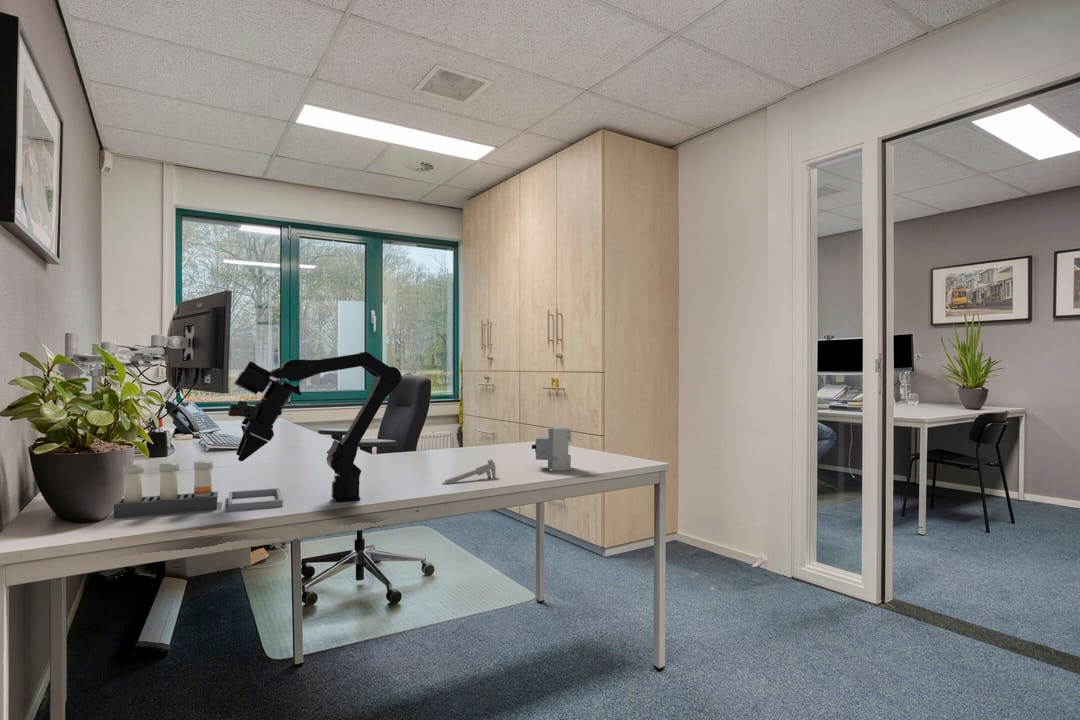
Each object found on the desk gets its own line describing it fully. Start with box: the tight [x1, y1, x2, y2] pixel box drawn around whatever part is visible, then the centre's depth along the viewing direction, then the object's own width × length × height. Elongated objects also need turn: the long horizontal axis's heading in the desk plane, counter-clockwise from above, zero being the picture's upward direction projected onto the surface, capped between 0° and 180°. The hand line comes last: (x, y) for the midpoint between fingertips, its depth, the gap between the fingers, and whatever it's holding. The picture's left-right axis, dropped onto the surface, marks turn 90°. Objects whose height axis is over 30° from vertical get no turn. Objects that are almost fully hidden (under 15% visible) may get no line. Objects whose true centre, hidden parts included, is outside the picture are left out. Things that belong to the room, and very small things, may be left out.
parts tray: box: [227, 487, 284, 512], centre depth 146 cm, size 12×15×3 cm
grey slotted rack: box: [106, 491, 223, 521], centre depth 136 cm, size 22×8×4 cm, turn 118°
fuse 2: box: [158, 462, 180, 500], centre depth 136 cm, size 4×4×11 cm
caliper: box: [441, 458, 496, 485], centre depth 186 cm, size 20×1×6 cm, turn 132°
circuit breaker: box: [531, 425, 572, 471], centre depth 210 cm, size 8×14×15 cm, turn 88°
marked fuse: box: [193, 460, 214, 498], centre depth 140 cm, size 4×4×11 cm
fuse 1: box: [122, 463, 145, 503], centre depth 133 cm, size 4×4×11 cm
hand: (238, 457), depth 144 cm, fingers open, 9 cm apart
